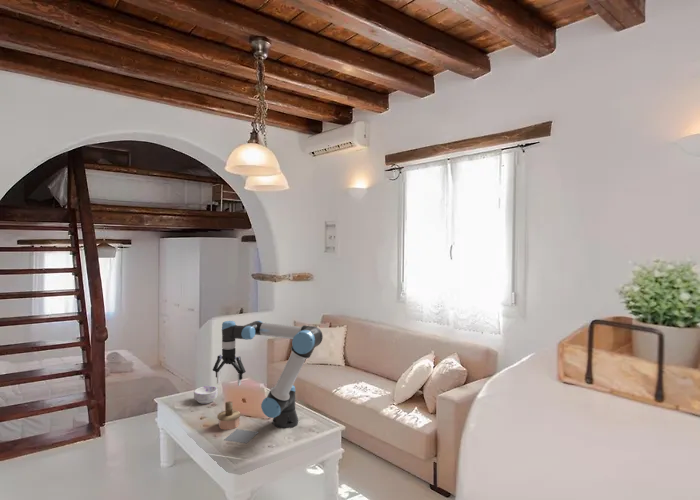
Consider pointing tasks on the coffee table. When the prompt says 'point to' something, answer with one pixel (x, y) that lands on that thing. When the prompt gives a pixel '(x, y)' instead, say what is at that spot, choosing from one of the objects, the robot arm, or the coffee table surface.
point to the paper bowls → (205, 394)
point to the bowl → (229, 424)
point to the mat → (241, 436)
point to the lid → (228, 413)
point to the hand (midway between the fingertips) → (229, 384)
